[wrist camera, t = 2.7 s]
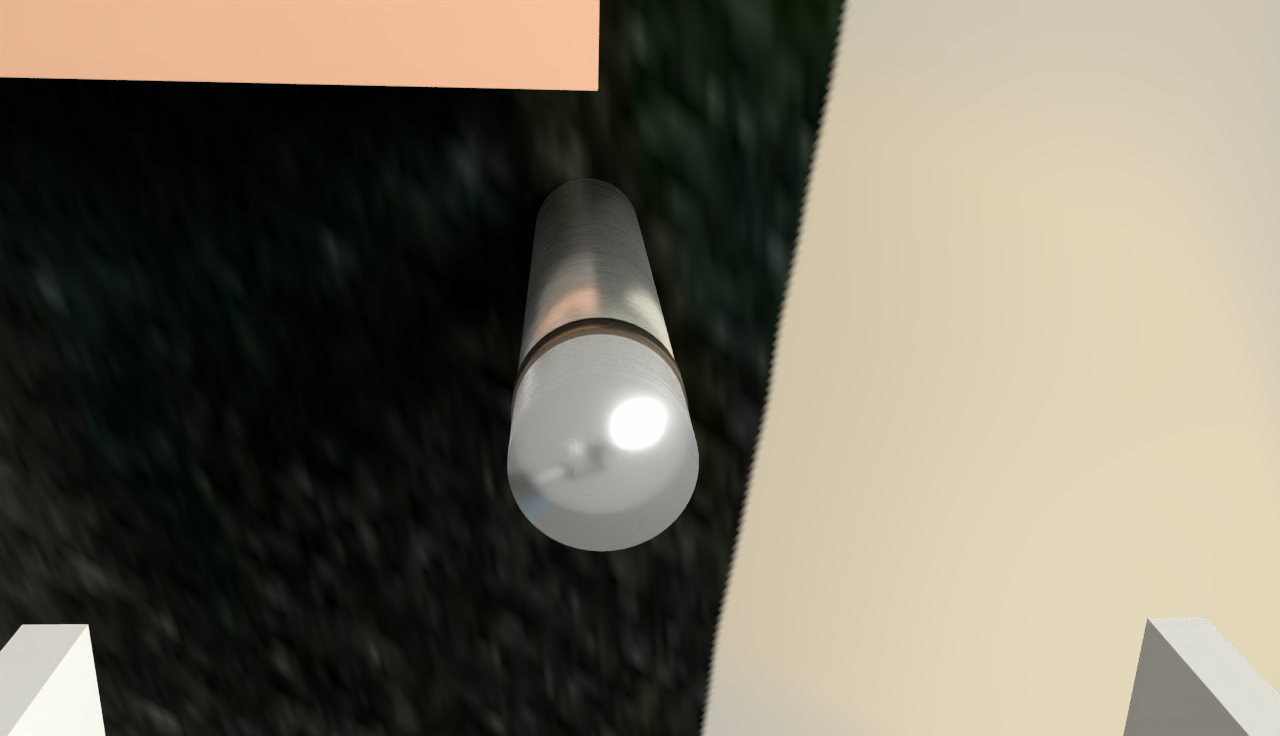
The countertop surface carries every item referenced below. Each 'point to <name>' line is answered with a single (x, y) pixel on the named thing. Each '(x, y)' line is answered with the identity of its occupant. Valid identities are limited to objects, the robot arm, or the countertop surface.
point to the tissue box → (307, 42)
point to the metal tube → (597, 382)
